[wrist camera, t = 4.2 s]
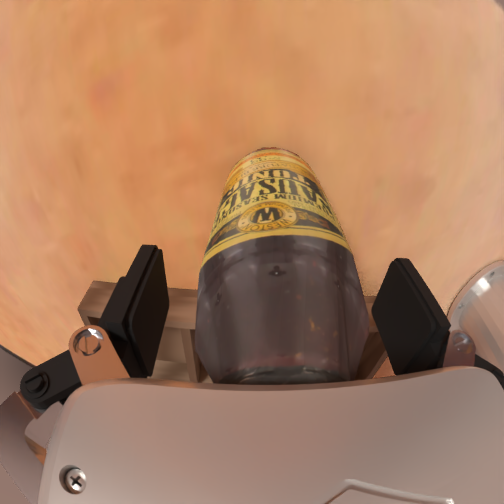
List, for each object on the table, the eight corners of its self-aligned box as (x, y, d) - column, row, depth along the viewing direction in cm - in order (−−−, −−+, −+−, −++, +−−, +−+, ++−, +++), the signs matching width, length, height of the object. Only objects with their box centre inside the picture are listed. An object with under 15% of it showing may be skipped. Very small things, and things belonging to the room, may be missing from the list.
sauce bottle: (308, 137, 18) (517, 476, 1) (315, 217, 21) (406, 511, 5) (213, 152, 18) (93, 530, 2) (231, 229, 22) (209, 535, 5)
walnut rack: (393, 296, 26) (407, 324, 23) (358, 361, 33) (365, 387, 29) (93, 280, 25) (77, 308, 21) (120, 351, 31) (111, 376, 28)
